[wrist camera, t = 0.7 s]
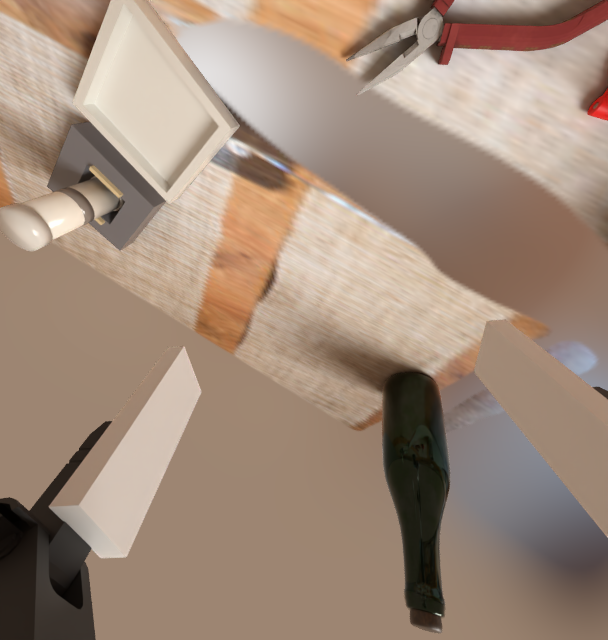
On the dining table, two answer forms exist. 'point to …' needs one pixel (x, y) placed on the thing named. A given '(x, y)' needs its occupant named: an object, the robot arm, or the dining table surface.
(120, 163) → the fuse socket
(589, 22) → the pliers
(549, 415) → the robot arm
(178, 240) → the dining table surface
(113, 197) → the cylinder
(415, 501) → the dark green wine bottle
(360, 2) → the dining table surface
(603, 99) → the tow hook
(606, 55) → the dining table surface
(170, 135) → the parts tray
